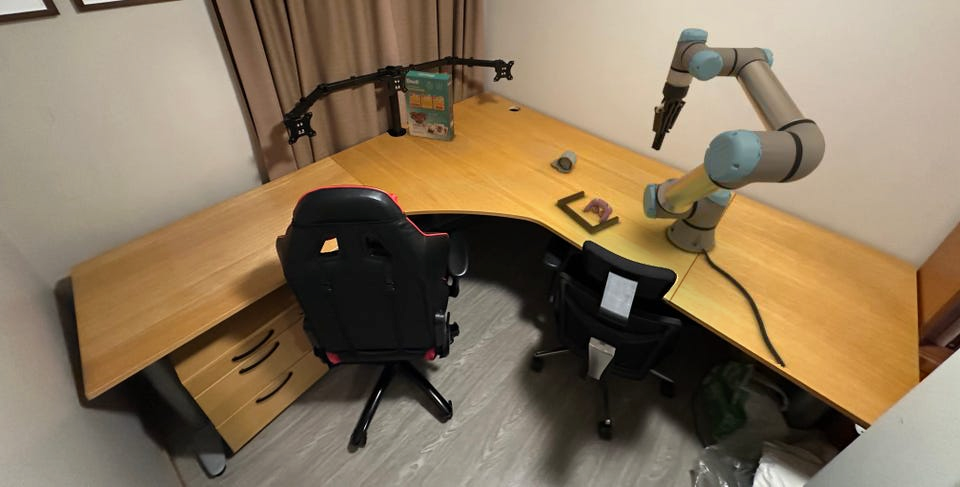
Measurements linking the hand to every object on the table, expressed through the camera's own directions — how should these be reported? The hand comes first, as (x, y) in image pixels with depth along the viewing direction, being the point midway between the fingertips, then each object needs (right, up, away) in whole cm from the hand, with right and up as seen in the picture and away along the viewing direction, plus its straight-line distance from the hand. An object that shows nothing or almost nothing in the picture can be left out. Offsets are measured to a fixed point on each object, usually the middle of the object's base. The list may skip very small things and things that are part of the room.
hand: (655, 148), depth 143 cm
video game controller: (-18, -23, +11) cm, 31 cm away
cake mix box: (-88, +21, +59) cm, 108 cm away
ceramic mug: (-26, 0, +36) cm, 45 cm away
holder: (-22, -23, +12) cm, 33 cm away
